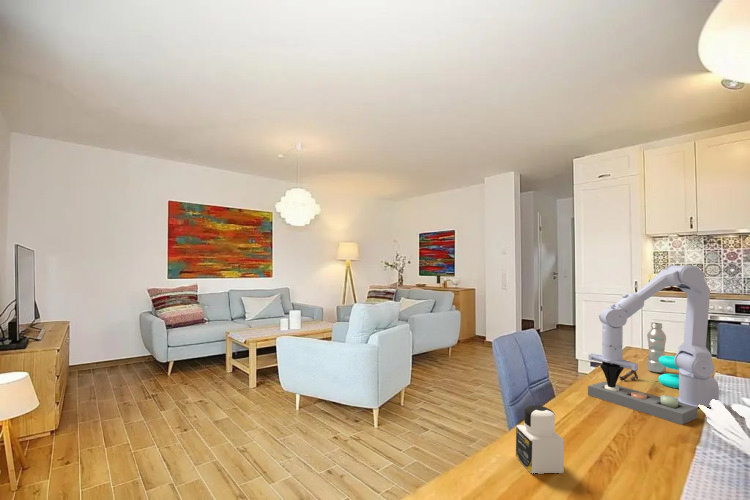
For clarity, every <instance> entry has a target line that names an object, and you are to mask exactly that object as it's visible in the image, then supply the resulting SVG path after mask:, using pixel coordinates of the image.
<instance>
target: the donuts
mask: <svg viewBox="0 0 750 500" xmlns="http://www.w3.org/2000/svg"><path fill="white" fill-rule="evenodd" d="M675 356H676V355H675ZM675 356H674V355H665V356H661V357H660V358H659V363H660V364H661V365H663V366H665V367H666V369H671V370H677V371H679V368H678V367H677V366H676V364H675V362H674V358H675ZM658 381H659V383H660V384H661V385H663V386H665V387H669V388H673V389H677V390H679V374H677V373H663V374H662V373H661V374H660V375H659V376H658Z"/></svg>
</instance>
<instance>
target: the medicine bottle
mask: <svg viewBox="0 0 750 500" xmlns="http://www.w3.org/2000/svg"><path fill="white" fill-rule="evenodd" d="M523 413H524V414H523V415H524V419H523V420H524V421H523V424H517V425H516V426H515V428H516V429H515V431H516V432H515V457H516V458H517V459H518V461H519V462H520V463H521V464H522V465H523V467H525V469H526V470H527V471H528V473H529V474H531V473H532V474H531V475H536V474H535V473H538V474H537V475H543V474H544V473H559V474H564V469H565V467H564V464H565V463H564V462H565V461H564V459H565V456H564V455H565V453H564V452H565V440H564V438H563V437H562V436H560V434H558V433H557V432H555V431H556V430H555V429H556V414H555V412H554V411H553V410H552V409H550V408H548V407H546V406H542V405H528V406H526V407H525V408H524V411H523ZM533 473H534V474H533ZM544 475H545V474H544Z"/></svg>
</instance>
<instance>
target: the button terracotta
mask: <svg viewBox="0 0 750 500" xmlns="http://www.w3.org/2000/svg"><path fill="white" fill-rule="evenodd" d="M631 396H632V397H636V398H639V399H643V400H645V399H647V395H645V394H643V393H638V392H631Z"/></svg>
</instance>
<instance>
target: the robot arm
mask: <svg viewBox="0 0 750 500" xmlns="http://www.w3.org/2000/svg"><path fill="white" fill-rule="evenodd" d="M705 277H706V273H705V272H704V270H703V271H702V270H701V269H700V268H699V267H698V266H696V265H690V264H688V265H677V264H672V265H667V266H666V267H665V268H664V269H662V270H660V271H659V272H658V273H657V275H656V276H655V277H653V278H652V279H651V280H649V282H647V283H646V284H645V285H644V286H642V287H641V288H640V289H639V290H637V292H635V293H634V292H629V293H624V294H622V296H621V297H622V298H620V299H619V300H618V301H617V302H615V303H612V304H610V307H608V308H604V309H602V310H601V312H600V315H598V319H599V321H600V322H601V323H602V324H601V325H602V329H601V330H602V331H601V354H596V353H588V355H587V356H588V357H587V358H588V361H595V362H599V363H601V364H599V367H600V368H601V371H602V372H603V374H604V376H605V380H606V382H607V384H608V387H611V388H613V387H616V385H617V382H618V379H619V378H620V377H619V376H621V374H622V371H624V368H625V369H629V370H630V371H631V370H634V371H635V370H637V371H638V370H639V369H638V368H639V364H638V363H636V362H633V361H629V360H626V359H623V342H624V341H623V337H624V336H623V335H624V334H623V333H624V332H623V331H624V330H623V327H624V326H625V325H626V324H627V322H628V319H629V318H630V317H632V316H633V315H634V314H636V313H637V312H638V311H640V310H641V309H643V308H644V306H645V301H646V300H649V298H651V297H653V296H655V294H657V293H659V292H660V291H662V290H664V289H665V288H666V287H667V288H669V287H677V288H679V289H680V290H681V291H682V292H684V293H685V294H686V296H687V297H686V298H687V299H686V308H685V309H686V310H685V321H684V322H685V323H684V325H685V326H684V336H683V343H682V344H680V345H679V346H678V351H677V353H676V354H675V358H674V362H675V364H676V366H677V367H678V368H679V370H678V372H679V373H678V375H679V389H678V397H677V396H674V397H675V398H677V399H678V402H680V403H683V404H687V405H691V406H694V407H698V405H699V404H700V405H704V406H706V407H709V408H708V409H711V408H710V405H709V403H710V401H711V400H712V399H715V400H719V401H720V399H719V398H720V388H719V387H720V386H719V382H718V381H717V380H716V379H715V378H714V377H712V376H713V374H714V372H715V365H714V362H713V355H712V353H711V352H710V351H709V349H708V348H707V335H708V325H709V324H708V323H709V313H710V312H709V311H710V297H711V290H710V289H711V288H709V285H708V283H707V280H706V279H705Z"/></svg>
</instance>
